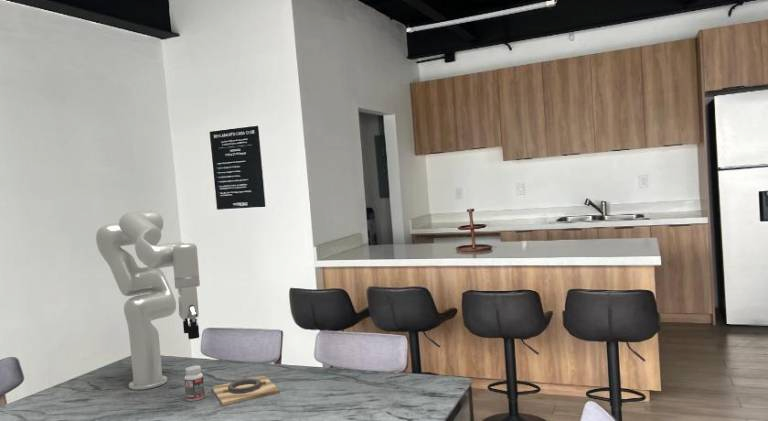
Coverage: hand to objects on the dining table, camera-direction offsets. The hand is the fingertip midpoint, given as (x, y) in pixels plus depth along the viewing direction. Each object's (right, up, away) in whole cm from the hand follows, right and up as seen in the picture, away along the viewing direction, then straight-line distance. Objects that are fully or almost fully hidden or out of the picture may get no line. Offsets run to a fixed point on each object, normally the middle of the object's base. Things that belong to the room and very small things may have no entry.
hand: (191, 335), depth 184 cm
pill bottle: (+1, -20, 0) cm, 21 cm away
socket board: (+16, -19, +4) cm, 25 cm away
